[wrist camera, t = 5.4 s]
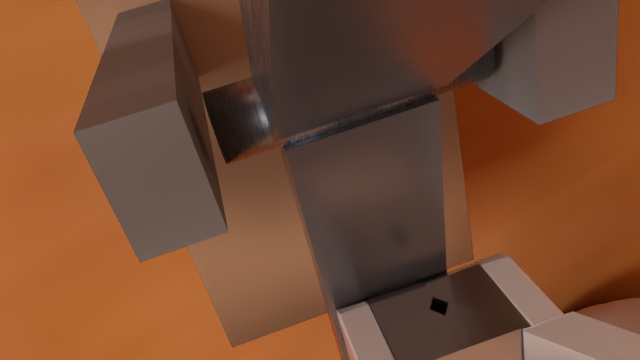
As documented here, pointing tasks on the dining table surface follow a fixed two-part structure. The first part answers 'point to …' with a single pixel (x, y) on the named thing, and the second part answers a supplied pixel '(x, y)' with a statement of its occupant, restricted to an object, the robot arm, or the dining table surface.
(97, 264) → the dining table surface
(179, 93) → the brown lever base
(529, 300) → the robot arm
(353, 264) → the lever
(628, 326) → the teacup
